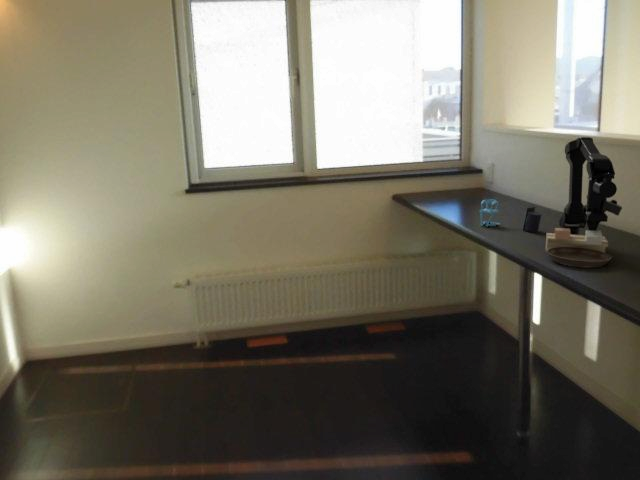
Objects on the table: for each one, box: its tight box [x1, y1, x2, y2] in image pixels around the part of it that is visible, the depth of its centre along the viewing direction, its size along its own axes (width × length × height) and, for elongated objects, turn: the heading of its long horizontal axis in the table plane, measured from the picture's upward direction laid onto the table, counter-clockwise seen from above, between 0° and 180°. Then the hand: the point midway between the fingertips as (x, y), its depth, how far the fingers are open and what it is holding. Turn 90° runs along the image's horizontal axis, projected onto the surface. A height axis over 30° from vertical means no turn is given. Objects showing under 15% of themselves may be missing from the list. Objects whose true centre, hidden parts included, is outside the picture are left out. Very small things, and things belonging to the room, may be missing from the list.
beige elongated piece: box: [545, 232, 609, 253], centre depth 219 cm, size 11×20×6 cm, turn 72°
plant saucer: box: [546, 247, 612, 269], centre depth 207 cm, size 21×21×3 cm
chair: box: [478, 198, 501, 228], centre depth 271 cm, size 8×8×12 cm
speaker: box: [522, 206, 542, 233], centre depth 258 cm, size 8×6×10 cm
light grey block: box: [584, 229, 603, 245], centre depth 211 cm, size 5×5×3 cm
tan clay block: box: [554, 227, 571, 239], centre depth 218 cm, size 5×5×3 cm
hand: (592, 236), depth 214 cm, fingers closed
